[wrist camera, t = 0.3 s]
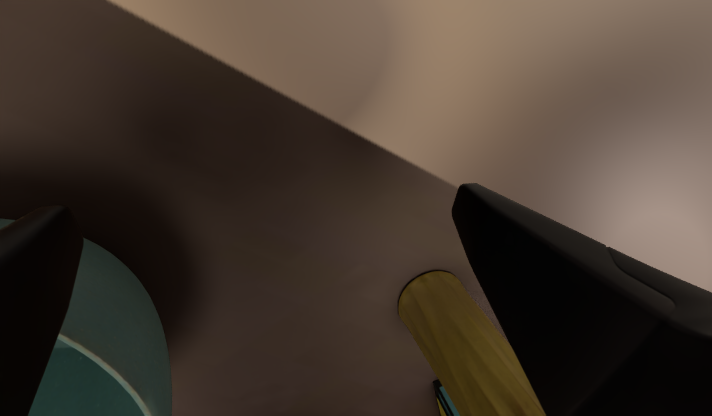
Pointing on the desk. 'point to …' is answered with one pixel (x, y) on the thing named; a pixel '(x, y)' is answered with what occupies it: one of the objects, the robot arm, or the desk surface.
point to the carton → (444, 401)
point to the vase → (465, 349)
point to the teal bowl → (106, 347)
